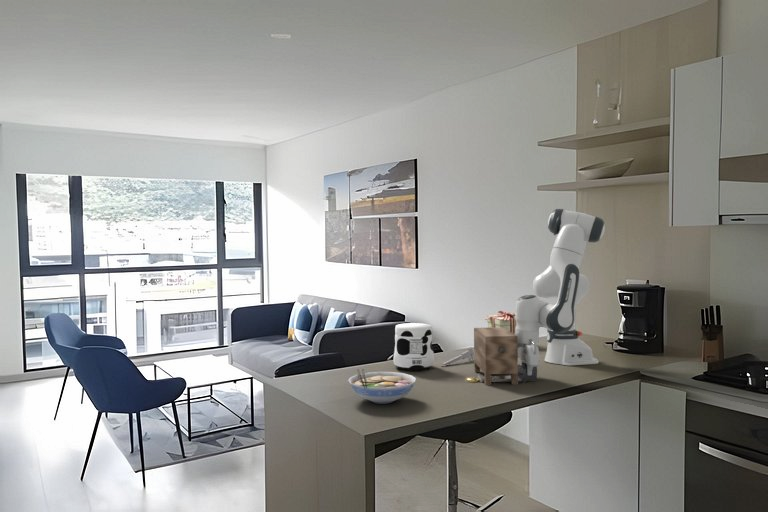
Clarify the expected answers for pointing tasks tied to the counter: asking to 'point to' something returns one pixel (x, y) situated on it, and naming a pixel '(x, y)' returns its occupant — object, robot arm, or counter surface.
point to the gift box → (502, 321)
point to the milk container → (413, 346)
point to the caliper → (462, 356)
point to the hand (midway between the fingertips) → (527, 373)
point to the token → (472, 379)
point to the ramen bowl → (382, 385)
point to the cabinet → (496, 353)
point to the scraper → (521, 376)
